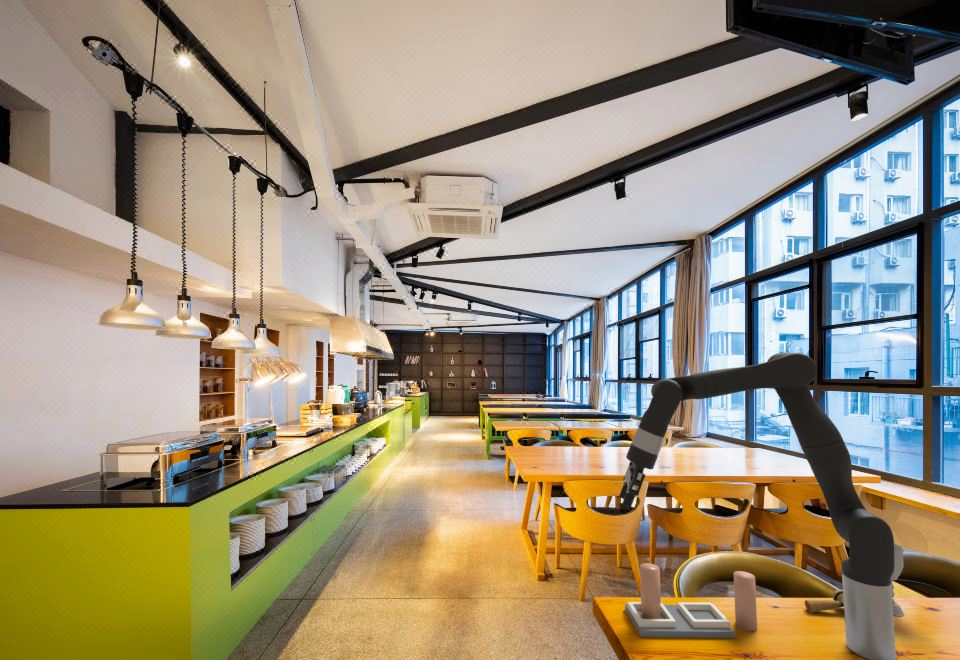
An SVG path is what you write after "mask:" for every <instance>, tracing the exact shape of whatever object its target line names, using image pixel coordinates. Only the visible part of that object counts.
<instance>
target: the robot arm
mask: <svg viewBox="0 0 960 660" xmlns="http://www.w3.org/2000/svg"><path fill="white" fill-rule="evenodd" d="M817 374H818V367H817V364H816V362H815V361H814V360H813V358H811V357H810V356H808V355H807V354H805V353H802V352H796V351H795V352H794V351H787V352H786V351H785V352H778V353H775V354H773V355H771V356H770V357H769V358H768V359H767V361H765V362H761V363H757V364H753V365H747V366H739V367H738V366H737V367H730V368H729V367H728V368H721V369H714V370H708V371H702V372H698V373H694V374H693V373H692V374H688V375H683V376H677V377H669V378H667V377H666V378H661V379H659V380H656V381H655V382H654V383H653V384H652V386H651V389H650V391H651V396H652V398H651V400H650V403H649V405H648V408H647V409H646V410H645V411H644V413H643V415H642V417H641V420H640V421H639V425H638V428H637V429H636V432H635V433H634V435H633V437H632V439H631V443H630V445H629V448H628V451H627V453H626V459H627V460H628V461H629V463H628V467H627V469H626V472H625V474H624V477H623V478H622V479H623V480H622V481H623V482H622V483H623V484H622V487H621V490H620V493H619V498H621V499H622V500H623V501H622V503H621V504H622V507H624V508H625V509H627V510H630V509H631V508H632V506H633V503H634V500H635V498H636V497H638V496H640V491H641V489H642V487H643V483H644V480H645V478H646V473H644V470H645V469H647V470H653V469H654V468H655V465H656V462H657V460H658V457H659V454H660V452H661V449H662V448H663V447H662V446H663V442H664V439H665V436H666V434H667V430H668V428H669V426H670V425H669V424H670V422H671V420H672V418H673V416H674V414H675V413H676V411H677V409H678V407H679V405H680V403H681V402H683V401H688V400H704V399H710V398H716V397H722V396H727V395H731V394H735V393H736V394H737V393H741V392H747V391H751V390H758V389H766V388H773V389H774V391H775V392H776V393H777V394H776V395H778V397H779V399H780V401H781V403H782V405H783V406H784V408H785V411H786V413H787V416H788V418H789V422H790V424H791V426H792V428H793V430H794V433H795V435H796V437H797V440H798V443H799V445H800V448H801V450H802V452H803V455H804V457H805V458H806V460H807V462H808V465H809V467H810V469H811V472H812V473H813V475H814V478H815V480H816V482H817V484H818V486H819V487H820V489H821V491H822V495H823V497H824V500H825V503H826V506H827V509H828V512H829V516H830V520H831V523H832V526H833V527H834V529H835V531H836V533H837V534H838V536H839V537H841V538H842V539H843V540H845V542H847V543H848V546H849V547H848V548H849V549H848V552H849V553H848V554H849V555H848V558H846V559H843V560H842V561H841V578H842V580H841V581H842V590H843V598H844V607H843V611H844V612H843V614H844V615H843V616H844V629H845V630H844V631H845V644H846V646H847V648H848V649H849V650H850V651H852V652H853V653H855V654H856V655H859V656H860V657H862V658H865V659H866V660H897V655H896V640H895V639H896V638H895V622H894V615H893V605H892V591H891V576H892V574H893V572H894V544H895V539H894V538H895V537H894V534H893V531H892V529H891V526H890V525H889V524H888V523H887V522H886V521H885V519H882V518H881V517H879V516H877V515H875V514H873V513H871V512H870V511H868V510H867V509H866V507H865V506H864V504H863V502H862V500H861V499H860V497H859V495H858V493H857V491H856V489H855V487H854V483H853V476H852V475H853V472H852V471H853V470H852V469H853V468H852V467H853V464H852V458H851V455H850V452H849V450H848V447H847V445H846V443H845V441H844V439H843V437H842V434H841V432H840V431H839V429H838V427H837V426H836V425H835V423H834V422H833V421H832V420H831V418H830V417H829V416H828V415H827V414H826V412H825V411H824V410H823V409H822V408H821V406H820V405H819V404H818V403H817V401H816V400H815V398H814V396H813V394H812V393H811V390H810V387H809V384H811V383H812V382H813V381H814V380H815V378H816V376H817Z"/></svg>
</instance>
